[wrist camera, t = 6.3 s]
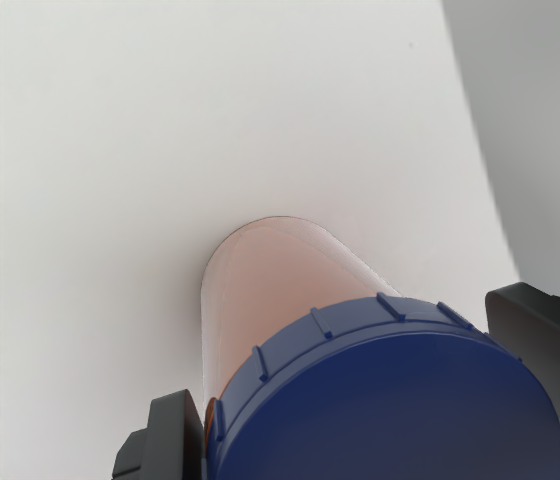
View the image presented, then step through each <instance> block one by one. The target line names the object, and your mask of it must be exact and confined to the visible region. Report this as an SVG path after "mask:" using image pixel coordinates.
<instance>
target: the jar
mask: <svg viewBox="0 0 560 480" xmlns="http://www.w3.org/2000/svg"><path fill="white" fill-rule="evenodd" d="M377 292H383V293H384V294H385V295H386V296H393V297H403V296H402V295H401V294H399V293H398V292H397V291H396V290H395V289H394V288H393V287H391V286H390V285H389V284H388V283H387V282H386V281H385V280H383V279H382V278H381V277H380V276H379V275H378V274H376V273H375V272H374V271H373V270H372V269H371V268H370V267H368V266H367V265H366V264H365V263H364V262H363V261H362V260H360V259H359V258H358V257H357V256H356V255H355V254H354V253H352V252H351V251H350V250H349V249H348V248H347V247H346V246H344V245H343V244H342V243H341V242H340V241H339V240H338V239H336V238H335V237H334V236H333V235H332V234H331V233H329V232H328V231H327V230H325V229H324V228H322V227H320V226H319V225H317V224H315V223H313V222H310V221H307V220H304V219H300V218H295V217H285V216H283V217H270V218H265V219H261V220H258V221H254V222H252V223H250V224H247V225H245V226H243V227H242V228H240V229H238V230H237V231H235V232H234V233H232V234H231V235H230V236H229V237H227V238H226V239H225V240H224V241H223V242H222V243H221V244H220V246H219V247H218V248H217V249H216V251H215V252H214V254H213V255H212V257H211V259H210V260H209V262H208V264H207V267H206V269H205V272H204V275H203V280H202V285H201V323H202V363H203V402H204V442H205V458H206V450H207V443H208V436H209V430H210V427H211V423H212V420H213V416H214V409H213V404H214V401H215V399H216V400H220V399H221V397H222V395H223V393H224V391H225V390H226V388H227V386H228V385H229V383H230V382H231V380H232V378H233V377H234V375H235V374H236V373H237V371H238V370H239V369H240V368H241V366H242V365H243V364H244V363H245V362H246V360H247V359H248V358H249V357H250V356H251V355H252V354H253V353H252V348H253V347H254V346H255V345H257V346H258V347H260V346H261V345H262V344H263V343H264V342H265V341H266V340H268V339H269V338H270V337H272V336H273V335H274V334H276V333H277V332H278V331H280V330H281V329H282V328H284V327H285V326H287V325H289V324H291V323H292V322H294V321H296V320H298V319H299V318H301V317H303V316H305V315H307V314H309V313H311V311H310V309H311V308H313V307H316V308H317V310H319V309H321V308H323V307H326V306H330V305H333V304H336V303H340V302H343V301H347V300H353V299H359V298H365V297H376V296H377Z"/></svg>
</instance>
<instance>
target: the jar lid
mask: <svg viewBox="0 0 560 480" xmlns="http://www.w3.org/2000/svg"><path fill="white" fill-rule="evenodd" d="M310 311H311V313H309V314H307V315H305V316H303V317H301V318H299V319H298V320H296V321H294V322H292V323H291V324H289V325H287V326H285V327H284V328H282V329H281V330H280V331H278V332H277V333H276V334H274V335H273V336H272V337H270V338H269V339H268V340H266V341H265V342H264V343H263V344H262V345H261V346H260V347H258V346H257V345H255V346H254V347H253V348H252V353H253V354H252V355H251V356H250V357H249V358H248V359H247V360H246V362H245V363H244V364H243V365H242V366H241V368H240V369H239V370H238V371H237V373H236V374H235V375H234V377H233V378H232V380H231V382H230V383H229V385H228V386H227V388H226V390H225V391H224V393H223V395H222V397H221V399H220V400H216V399H215V401H214V404H213V409H214V416H213V420H212V423H211V427H210V430H209V436H208V443H207V450H206V458H205V459H201V465H202V480H560V423H559V419H558V416H557V413H556V411H555V409H554V406H553V404H552V401H551V399H550V397H549V396H548V394H547V392H546V391H545V389H544V388H543V386H542V384H541V383H540V381H539V380H538V379H537V378H536V377H535V376H534V375H533V374H532V372H531V371H530V370H529V369H528V368H527V367H526V366H525V365H523V364H522V363H521V362H522V361H523V360H522V359H521V358H520V357H519V356H518V355H516V354H515V353H514V352H512V351H511V350H510V349H508V348H507V347H506V346H504V345H503V344H501V343H500V342H499V341H497V340H496V339H495V338H493V337H492V336H491V335H489V334H488V333H487V332H485V333H484V334H483V333H482V332H481V331H479V330H478V329H477V328H475V327H474V326H473V325H472V324H471V323H470V322H468V321H467V320H466V319H464V318H463V317H462V316H460V315H459V314H458V313H456V312H455V311H454V310H452V309H451V308H450V307H448V306H447V305H446V304H444V303H443V302H440V301H439V302H438V304H437V305H435V304H432V303H429V302H425V301H421V300H416V299H412V298H404V297H393V296H386V295H385V294H384V293H383V292H377V296H376V297H365V298H359V299H353V300H347V301H343V302H340V303H336V304H333V305H330V306H326V307H323V308H321V309H319V310H317V308H316V307H313V308H311V309H310Z"/></svg>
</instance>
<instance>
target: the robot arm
mask: <svg viewBox="0 0 560 480" xmlns="http://www.w3.org/2000/svg"><path fill="white" fill-rule="evenodd" d="M485 307H486V314H487V321H488V328H489V335H491V336H492V337H493V338H495V339H496V340H497V341H499V342H500V343H501V344H503V345H504V346H506V347H507V348H508V349H510V350H511V351H512V352H514V353H515V354H516V355H518V356H519V357H520V358H521V359H522V360H523V361H522V362H521V363H522V364H523V365H525V366H526V367H527V368H528V369H529V370H530V371H531V372H532V374H533V375H534V376H535V377H536V378H537V379H538V380H539V381H540V383H541V384H542V386H543V388H544V389H545V391H546V392H547V394H548V396H549V397H550V399H551V401H552V404H553V406H554V409H555V411H556V413H557V416H558V419H559V423H560V297H558V296H554V295H552V296H550V295H548V294H546V293H544V292H542V291H540V290H538V289H536V288H534V287H532V286H530V285H528V284H526V283H524V282H518V283H515V284H512V285H509V286H506V287H503V288H500V289H496V290H493V291H490V292H488V293H487V294H486V297H485ZM201 459H205V442H204V429H203V426H202V424H201V421H200V418H199V415H198V413H197V410H196V407H195V404H194V402H193V399H192V396H191V394H190V392H189V391H188V389H185V390H182V391H179V392H176V393H172V394H169V395H166V396H163V397H160V398H157V399H154V400H152V401H151V405H150V412H149V418H148V424H147V428H145V429H142V430H139V431H136V432H133V433H131V434H130V436H129V437H128V439H127V440H126V442H125V443H124V444H123V446H122V447H121V449H120V450H119V452H118V453H117V456H116V460H115V465H114V469H113V473H112V477H113V479H111V480H202V465H201Z"/></svg>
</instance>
